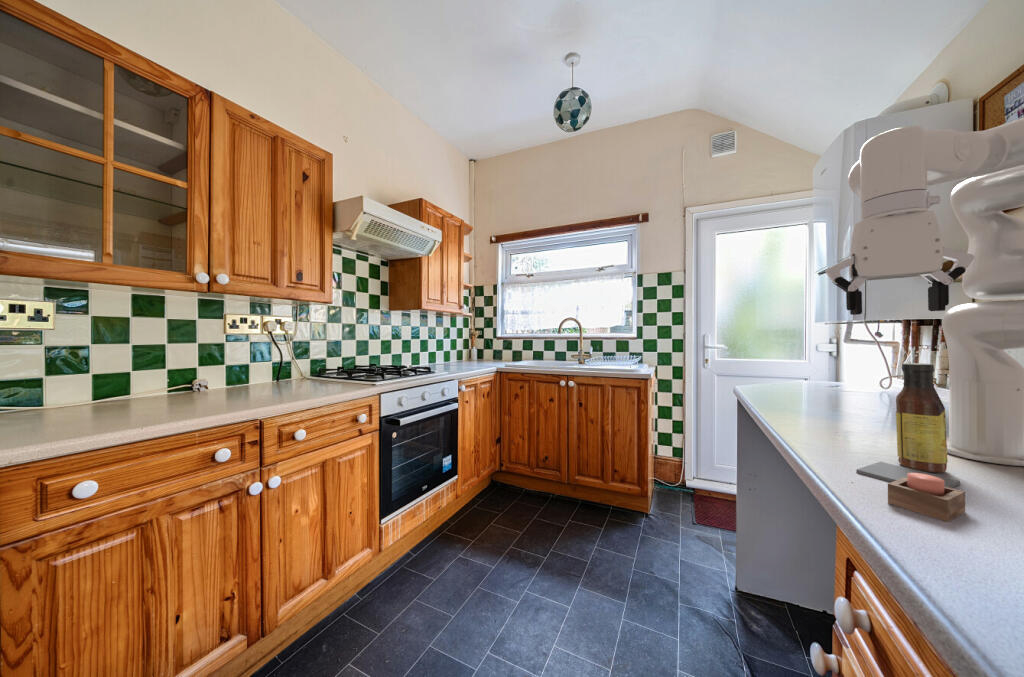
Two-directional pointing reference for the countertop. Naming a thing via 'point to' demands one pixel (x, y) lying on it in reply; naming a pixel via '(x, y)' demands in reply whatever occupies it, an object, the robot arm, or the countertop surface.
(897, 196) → the robot arm
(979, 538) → the countertop surface
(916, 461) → the sauce bottle
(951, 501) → the box
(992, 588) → the countertop surface
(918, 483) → the button
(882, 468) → the mat
